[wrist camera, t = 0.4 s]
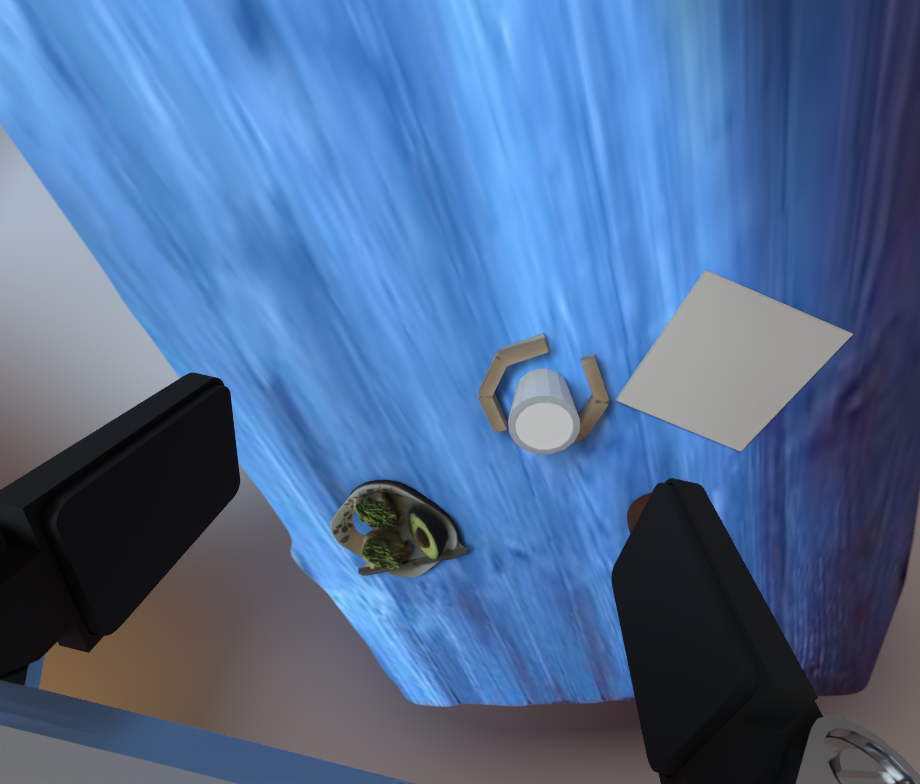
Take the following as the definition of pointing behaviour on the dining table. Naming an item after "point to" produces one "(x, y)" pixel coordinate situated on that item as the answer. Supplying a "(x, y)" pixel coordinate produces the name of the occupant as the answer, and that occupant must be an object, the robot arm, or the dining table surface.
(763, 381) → the rubber mat
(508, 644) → the dining table surface
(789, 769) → the robot arm
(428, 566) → the salad plate
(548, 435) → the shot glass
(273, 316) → the dining table surface
